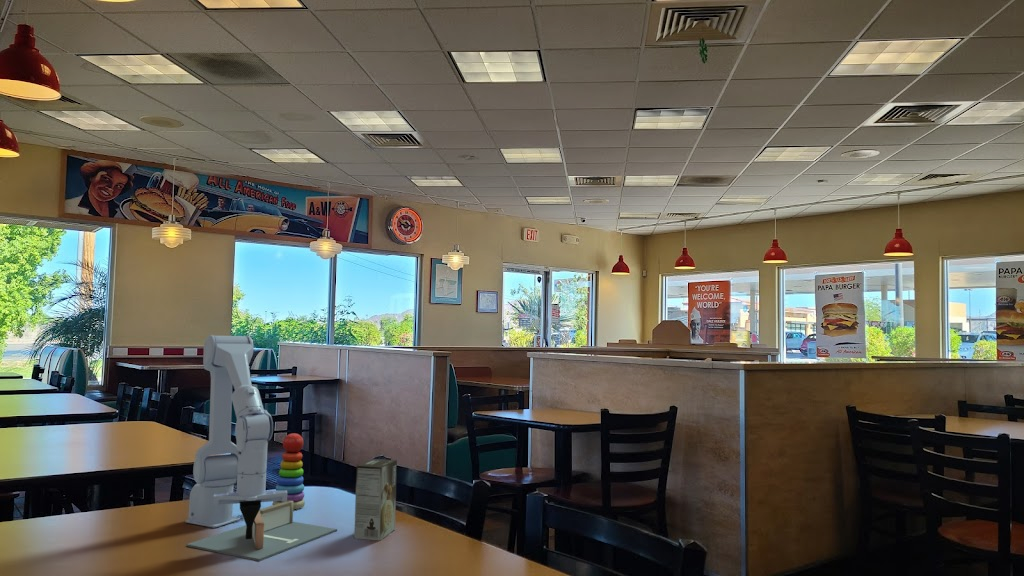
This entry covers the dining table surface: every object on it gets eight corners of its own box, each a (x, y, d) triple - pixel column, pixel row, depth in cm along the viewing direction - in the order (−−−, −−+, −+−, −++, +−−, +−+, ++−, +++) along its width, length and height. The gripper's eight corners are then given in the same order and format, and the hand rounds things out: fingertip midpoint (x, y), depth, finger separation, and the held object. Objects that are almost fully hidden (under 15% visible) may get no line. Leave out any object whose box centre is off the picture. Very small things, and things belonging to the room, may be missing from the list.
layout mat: (186, 546, 147) (186, 543, 148) (269, 519, 169) (269, 517, 169) (259, 561, 139) (259, 558, 139) (337, 530, 161) (337, 528, 161)
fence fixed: (248, 536, 155) (249, 511, 155) (288, 523, 166) (289, 499, 167) (254, 537, 154) (255, 512, 155) (294, 524, 166) (295, 500, 166)
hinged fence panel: (251, 535, 154) (252, 513, 154) (259, 534, 155) (260, 512, 155) (255, 549, 145) (256, 525, 145) (263, 548, 145) (264, 525, 146)
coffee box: (369, 527, 164) (372, 457, 165) (395, 530, 163) (398, 459, 164) (353, 539, 155) (355, 465, 156) (380, 541, 154) (383, 466, 155)
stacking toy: (286, 513, 175) (289, 436, 177) (265, 507, 180) (268, 433, 181) (311, 506, 182) (314, 433, 183) (290, 502, 186) (293, 430, 188)
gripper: (214, 477, 142) (210, 546, 142) (289, 474, 148) (286, 540, 147) (215, 470, 149) (211, 536, 148) (287, 467, 154) (284, 531, 153)
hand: (248, 537), depth 148 cm, fingers closed
